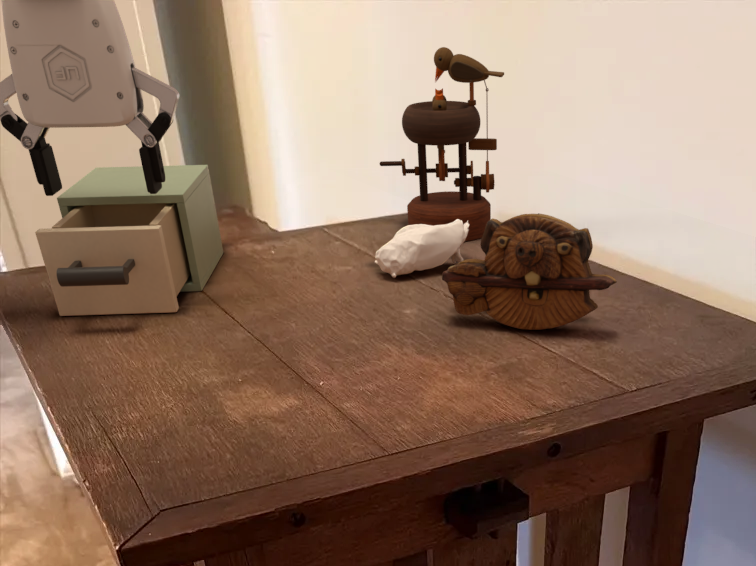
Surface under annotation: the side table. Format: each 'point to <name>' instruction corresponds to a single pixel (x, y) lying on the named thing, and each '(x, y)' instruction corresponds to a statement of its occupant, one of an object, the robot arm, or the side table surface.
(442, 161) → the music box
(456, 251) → the white lumpy oblong piece
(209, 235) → the cabinet
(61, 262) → the drawer
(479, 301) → the wooden carving
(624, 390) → the side table surface
